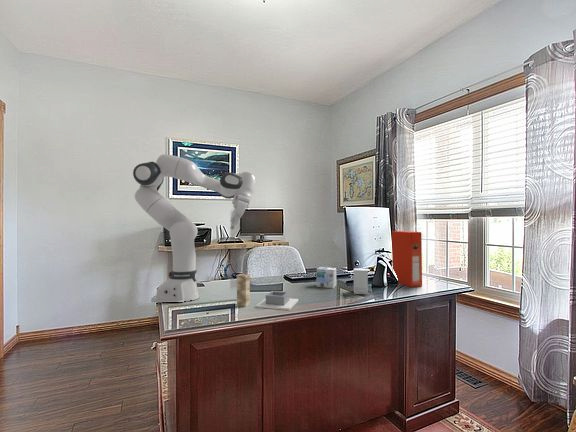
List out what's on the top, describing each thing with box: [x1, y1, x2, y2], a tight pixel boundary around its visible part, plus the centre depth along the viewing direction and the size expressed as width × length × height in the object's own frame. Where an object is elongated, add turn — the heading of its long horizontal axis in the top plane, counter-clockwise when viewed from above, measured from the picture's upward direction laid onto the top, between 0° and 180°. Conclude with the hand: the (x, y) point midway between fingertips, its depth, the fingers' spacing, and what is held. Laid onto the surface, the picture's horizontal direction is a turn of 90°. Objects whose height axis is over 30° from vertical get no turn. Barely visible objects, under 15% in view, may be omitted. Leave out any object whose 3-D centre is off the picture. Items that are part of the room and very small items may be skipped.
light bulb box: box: [315, 266, 337, 289], centre depth 181 cm, size 11×7×11 cm, turn 68°
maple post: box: [236, 273, 251, 308], centre depth 142 cm, size 4×4×14 cm
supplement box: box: [353, 267, 369, 295], centre depth 166 cm, size 7×7×13 cm
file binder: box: [391, 230, 423, 288], centre depth 187 cm, size 8×17×32 cm, turn 17°
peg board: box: [255, 290, 299, 311], centre depth 144 cm, size 16×16×5 cm
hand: (233, 227), depth 153 cm, fingers open, 8 cm apart
